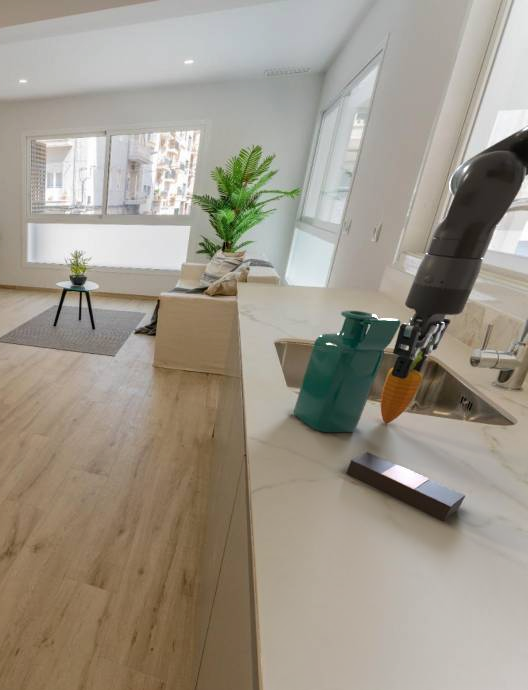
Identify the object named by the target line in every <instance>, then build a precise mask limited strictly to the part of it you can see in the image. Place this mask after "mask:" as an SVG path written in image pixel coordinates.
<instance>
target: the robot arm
mask: <svg viewBox="0 0 528 690" xmlns="http://www.w3.org/2000/svg"><path fill="white" fill-rule="evenodd" d="M526 176H528V125H526V126H525V127H522V128H521V129H519V130H517V131H516V132H514V133H512V134H511V135H509V136H507V137H505V138H503V139H502V140H500V141H497V142H496V143H494V144H493V145H491V146H489V147H487V148H486V149H484V150H482V151H479V153H477V154H475V155H473V156H472V157H470V158H469V159H467V160H466V161H464V162H463V163H462V164H460V166H458V168H456V169H455V171H454V172H453V174H452V175H451V177H450V180H449V191H450V193H451V195H452V196H453V198H452V201H451V203H450V205H449V208H448V211H447V213H446V216H445V217H444V219H442V220H441V221H440V222H439V223H438V225H437V226H436V228H435V230H434V233H433V234H432V237H431V239H430V241H429V242H430V243H429V245H428V247H427V250H426V253H425V255H424V257H423V259H422V261H421V262H420V264H419V266H418V269H417V271H416V273H415V276H414V277H413V278H414V279H413V282H412V284H411V287H410V289H409V292H408V295H407V297H406V299H405V303H404V305H405V306H406V308H408V309H412V310H414V311H415V312H414V313H413V315H412V318H409V319H408V320H407V323H405V322H403V323H402V324H400V326H399V328H398V333H397V336H396V340H395V345H394V348H393V351H392V354H393V355H396V360H395V362H394V365H393V367H394V368H393V367H392V368H393V370H392V373H391V374H392V376H395V377H398V378H401V379H404V378H407V377H408V374H409V372H410V370H411V367H412V365H413V362H414V359H415V358H416V357H417V354H418V353H419V351H422V352H423V353H422V355H421V356H422V359H421V360H420V361H419V362H418V363H417V364H416V365H415V367H414V368H413V369H414V370H416V371H418V372H419V373H420V374H421V372H422V370H423V368H424V365H425V363H426V360H427V358H428V356H429V355H431V354H432V353H433V351H436V350H437V349H438V346H439V344H440V342H441V340H442V338H443V337H444V334H445V333H446V330H447V329H448V327H449V325H450V323H451V319H450V318H447V317H446V316H455V315H460V314H462V313H463V311H464V309H465V307H466V304H467V302H468V300H469V298H470V295H471V293H472V291H473V288H474V286H475V283H476V281H477V279H478V277H479V275H480V272H481V267H482V264H483V261H484V258H485V257H486V253H487V251H488V249H489V246H490V244H491V241H492V240H493V236H494V234H495V231H496V228H497V227H498V225H499V224H500V223H501V221H502V220H503V218H504V217H505V215H506V213H507V212H508V211H509V209H510V207H511V206H512V204H513V202H514V201H515V199H516V198H517V196H518V194H519V192H520V191H521V188H522V186H523V184H524V181H525V179H526ZM407 347H408V348H407ZM406 348H407V349H406Z"/></svg>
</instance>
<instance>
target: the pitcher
mask: <svg viewBox="0 0 528 690" xmlns="http://www.w3.org/2000/svg"><path fill="white" fill-rule="evenodd" d="M340 315H341V316H342V317H344V321H343V324H342V327H341V329H340V331H338V332H332V333H331V332H329V333H322V334H321V335H319V336H318V337H317V338H316V339H315V341H314V343H313V347H312V349H311V353H310V357H309V360H308V363H307V367H306V370H305V373H304V377H303V380H302V382H301V386H300V389H299V392H298V396H297V399H296V401H295V406H294V409H293V414H294V416H295V417H296V418H298V419H299V420H301V421H302V422H304V423H305V424H306V425H307V426H309V427H310V428H311V429H313V430H316V431H318V432H320V433H321V432H322V433H353V432H356V430H357V428H358V425H359V423H360V420H361V417H362V415H363V411H364V409H365V406H366V404H367V401H368V399H369V396H370V393H371V390H372V388H373V385H374V382H375V380H376V377H377V375H378V372H379V369H380V367H381V364H382V362H383V359H384V357H385V349H386V348H388V346H389V345H390V344H391V343H392V341H393V339H394V337H395V335H397V332H398V331H399V329H400V326H401V321H400V320H399V319H397V318H379V317H378V316H377V315H376V314H374V313H371V312H366V311H360V310H351V309H350V310H343V311H341V312H340Z"/></svg>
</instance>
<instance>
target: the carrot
mask: <svg viewBox="0 0 528 690" xmlns="http://www.w3.org/2000/svg"><path fill="white" fill-rule="evenodd" d="M422 353H423V352H422V351H419V353H418V354H417V357H416V358H415V359H414V362H413V365H412V367H411V370H410V372H409V374H408V377H407V378H404V379H401V378H398V377H395V376H392V374H391V373H392V370H393V368H394V366H393V367H391V368H390V369H389V370H388V372H387V375H386V378H385V380H384V383H383V386H382V390H381V397H380V413H381V414H380V415H381V417H382V421H383V423H384V424H388V423H391V422H393V421H394V420H396V419H397V418H399V416H400V415H402V414H403V413H404V412H405V411H406V409H407V408H408V406H409V405H410V403H412V401H413V399H414V397H415V395H416V393H417V391H418V389H419V387H420V385H421V383H422V380H423V377H422V374H421V372H420V373H419V372H418V371H416V370H414V369H413V368H414V367H415V365H416V364H417V363H418V362H419V361H420V360H421V359H422V356H421V355H422Z"/></svg>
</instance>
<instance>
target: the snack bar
mask: <svg viewBox="0 0 528 690" xmlns="http://www.w3.org/2000/svg"><path fill="white" fill-rule="evenodd" d="M346 474H348V475H349V476H350V477H354V478H355V479H357V480H359V481H361V482H364V483H365V484H367V485H370V486H371V487H373V488H375V489H377V490H379V491H381V492H382V493H383V492H384V493H386V494H387V495H390V496H392V497H393V498H396V499H398V500H400V501H402V502H403V503H405V504H408V505H410V506H412V507H414V508H415V509H418V510H420V511H422V512H424V513H426V514H428V515H430V516H432V517H434V518H436V519H438V520H439V521H442V522H445V521H446V520H447V519H448V518H450V517H451V516H452V515H453V514H455V513H456V512H457V511H459V509H460V507H461V505H462V503H463V501H464V500H465V497H466V495H465V494H463V493H462V492H458V491H456V490H454V489H452V488H449V487H448V486H445V485H443V484H440V483H438V482H436V481H434V480H432V479H430V478H429V477H426V476H424V475H422V474H420V473H417V472H415V471H413V470H411V469H409V468H407V467H405V466H402V465H400V464H396V463H393V462H391V461H389V460H387V459H384V458H382V457H380V456H377V455H375V454H373V453H370V452H369V451H366V452H364V453H362V454H360V455H358V456H357V457H354V458H353V459H351V460H350V463H349V465H348V467H347V470H346Z"/></svg>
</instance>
